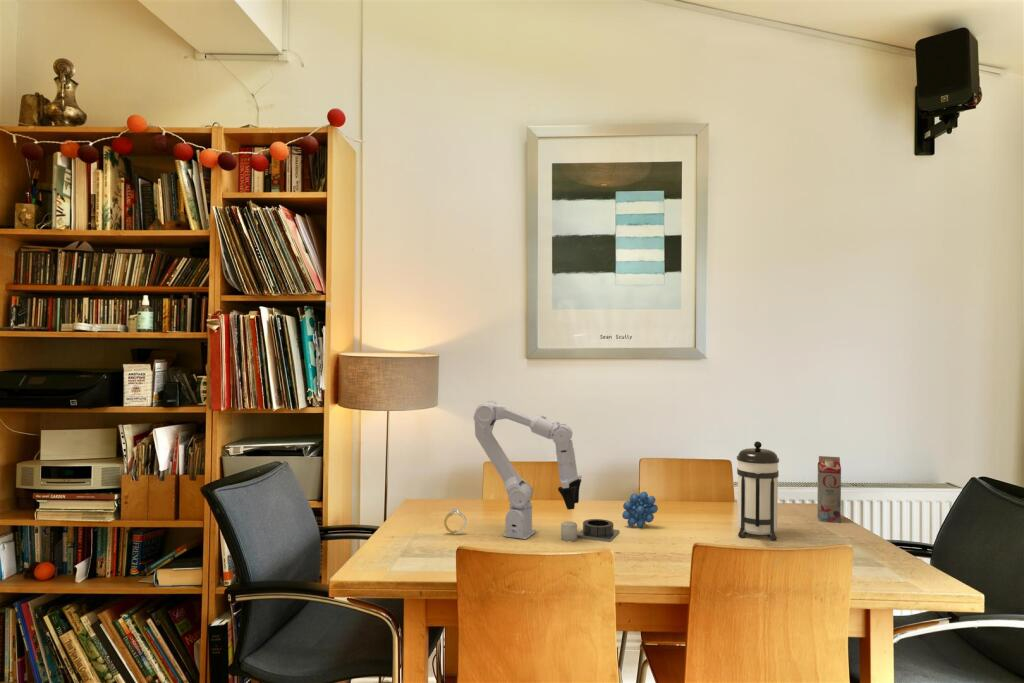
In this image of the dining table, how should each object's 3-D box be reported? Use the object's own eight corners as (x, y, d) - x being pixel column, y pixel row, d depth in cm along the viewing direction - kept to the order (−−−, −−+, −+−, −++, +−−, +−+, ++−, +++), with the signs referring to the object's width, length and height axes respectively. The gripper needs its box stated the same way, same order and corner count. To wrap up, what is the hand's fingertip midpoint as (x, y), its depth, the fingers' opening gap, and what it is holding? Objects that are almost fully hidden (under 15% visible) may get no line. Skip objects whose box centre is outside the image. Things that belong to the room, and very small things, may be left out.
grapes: (657, 524, 229) (657, 489, 229) (658, 530, 222) (658, 493, 222) (622, 523, 231) (622, 487, 231) (622, 528, 224) (622, 492, 224)
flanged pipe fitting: (610, 541, 210) (610, 529, 210) (576, 537, 214) (576, 525, 214) (619, 532, 220) (619, 520, 220) (586, 528, 224) (586, 517, 224)
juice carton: (840, 523, 232) (841, 458, 232) (819, 521, 234) (819, 457, 234) (838, 518, 238) (838, 455, 238) (817, 516, 241) (817, 454, 240)
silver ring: (443, 535, 216) (443, 510, 216) (445, 532, 219) (445, 507, 219) (465, 535, 215) (465, 510, 215) (466, 533, 219) (466, 508, 219)
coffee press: (720, 531, 222) (720, 439, 222) (759, 526, 227) (760, 437, 227) (757, 546, 205) (757, 447, 205) (798, 541, 211) (799, 444, 211)
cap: (574, 542, 209) (574, 526, 209) (558, 540, 211) (558, 524, 211) (579, 538, 214) (579, 522, 214) (564, 536, 216) (564, 520, 216)
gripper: (575, 466, 207) (581, 510, 206) (582, 457, 221) (589, 499, 220) (552, 468, 209) (559, 512, 208) (561, 460, 223) (567, 501, 222)
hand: (573, 506), depth 214 cm, fingers open, 7 cm apart
